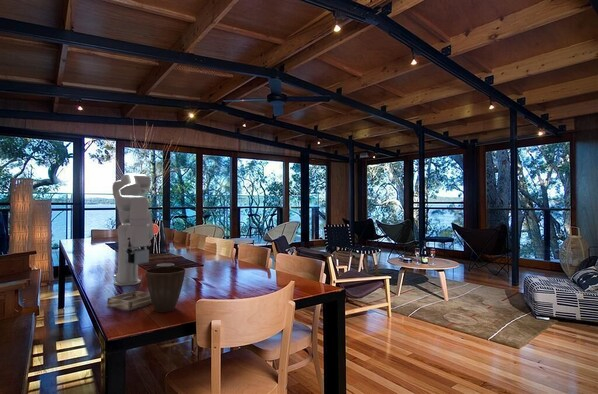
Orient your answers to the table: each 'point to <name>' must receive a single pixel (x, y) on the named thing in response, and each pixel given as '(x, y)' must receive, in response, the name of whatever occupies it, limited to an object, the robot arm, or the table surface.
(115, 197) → the robot arm
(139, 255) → the slate crate
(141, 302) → the birch crate
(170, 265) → the coffee mug
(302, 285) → the table surface
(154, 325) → the table surface
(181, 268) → the plant pot
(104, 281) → the table surface
